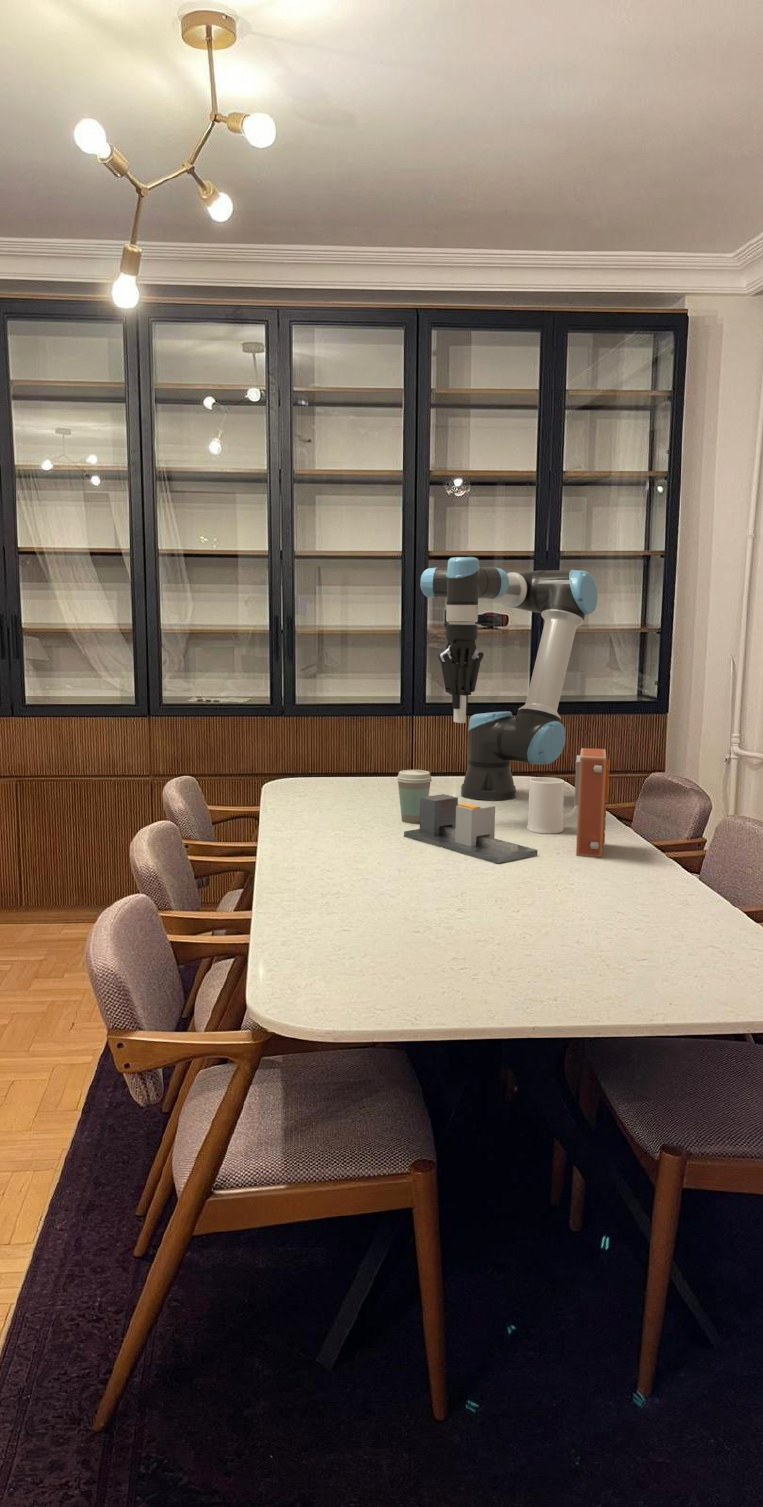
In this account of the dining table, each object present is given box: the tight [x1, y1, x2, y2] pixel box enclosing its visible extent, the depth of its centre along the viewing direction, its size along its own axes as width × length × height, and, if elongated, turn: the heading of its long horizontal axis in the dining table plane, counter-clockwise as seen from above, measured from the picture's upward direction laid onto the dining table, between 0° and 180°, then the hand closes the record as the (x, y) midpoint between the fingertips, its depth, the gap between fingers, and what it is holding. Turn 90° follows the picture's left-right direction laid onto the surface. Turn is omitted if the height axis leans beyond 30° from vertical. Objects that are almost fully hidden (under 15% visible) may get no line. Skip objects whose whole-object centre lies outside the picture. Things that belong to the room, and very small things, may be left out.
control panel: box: [573, 747, 610, 858], centre depth 225 cm, size 21×7×15 cm
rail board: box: [403, 793, 538, 865], centre depth 228 cm, size 30×12×9 cm, turn 38°
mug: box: [526, 776, 578, 835], centre depth 245 cm, size 12×8×12 cm
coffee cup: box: [396, 769, 433, 824], centre depth 253 cm, size 8×9×12 cm
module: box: [455, 802, 496, 846], centre depth 227 cm, size 5×7×8 cm
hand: (459, 722), depth 250 cm, fingers closed
